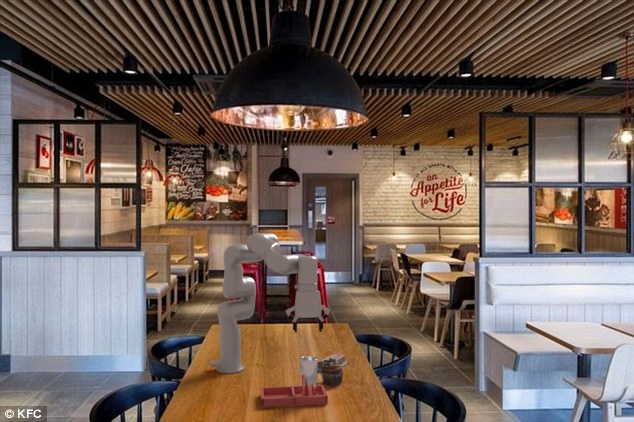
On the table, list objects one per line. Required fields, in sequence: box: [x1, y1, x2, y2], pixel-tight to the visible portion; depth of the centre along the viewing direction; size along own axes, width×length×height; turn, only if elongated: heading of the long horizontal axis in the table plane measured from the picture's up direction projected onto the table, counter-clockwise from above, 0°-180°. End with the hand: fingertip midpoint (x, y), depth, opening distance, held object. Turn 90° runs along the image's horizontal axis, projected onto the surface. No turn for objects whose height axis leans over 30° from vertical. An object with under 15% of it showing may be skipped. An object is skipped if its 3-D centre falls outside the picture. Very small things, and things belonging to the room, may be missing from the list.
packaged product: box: [317, 352, 350, 373], centre depth 246 cm, size 18×5×10 cm
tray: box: [260, 384, 329, 409], centre depth 203 cm, size 25×13×3 cm, turn 97°
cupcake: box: [320, 358, 344, 387], centre depth 223 cm, size 10×10×10 cm
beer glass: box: [299, 355, 319, 396], centre depth 204 cm, size 7×7×15 cm
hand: (308, 331), depth 204 cm, fingers open, 9 cm apart
